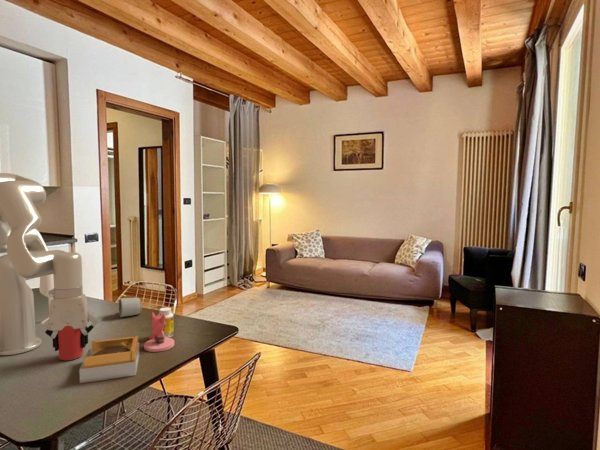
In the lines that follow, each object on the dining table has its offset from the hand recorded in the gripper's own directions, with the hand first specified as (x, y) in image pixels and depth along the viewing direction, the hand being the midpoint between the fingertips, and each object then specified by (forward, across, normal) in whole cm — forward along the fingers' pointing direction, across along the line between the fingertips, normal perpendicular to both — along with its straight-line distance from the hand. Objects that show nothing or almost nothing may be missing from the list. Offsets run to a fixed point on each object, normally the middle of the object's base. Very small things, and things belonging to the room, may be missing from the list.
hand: (71, 347), depth 114 cm
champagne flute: (+3, -15, +38) cm, 41 cm away
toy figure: (+3, +26, 0) cm, 26 cm away
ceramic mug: (+3, +13, +37) cm, 40 cm away
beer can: (+3, 0, 0) cm, 3 cm away
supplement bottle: (+3, +28, +8) cm, 29 cm away
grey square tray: (+3, +13, -12) cm, 18 cm away
